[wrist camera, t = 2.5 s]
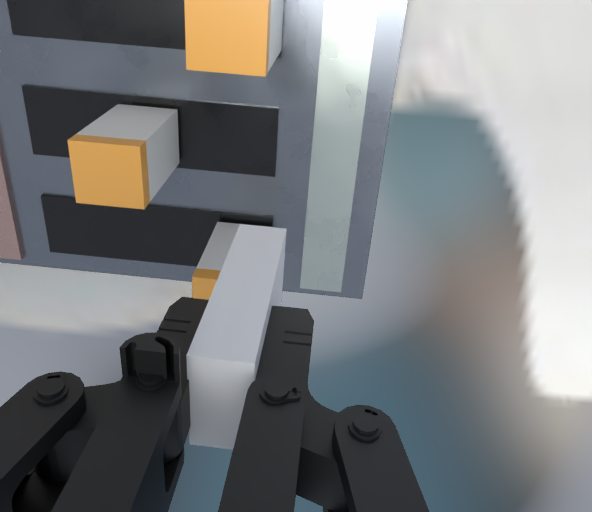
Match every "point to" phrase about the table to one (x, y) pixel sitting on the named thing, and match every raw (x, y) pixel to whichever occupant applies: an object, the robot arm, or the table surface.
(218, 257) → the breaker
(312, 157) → the panel
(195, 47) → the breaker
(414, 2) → the table surface
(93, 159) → the block
